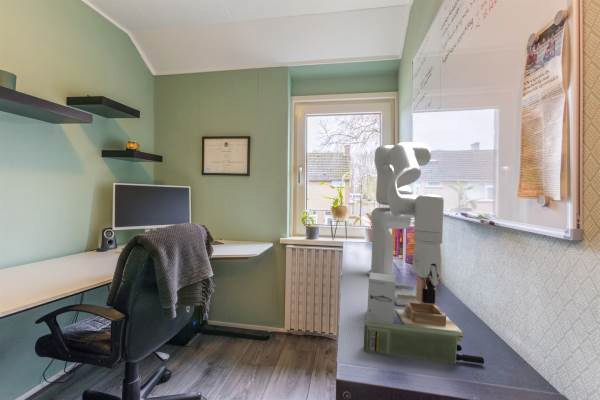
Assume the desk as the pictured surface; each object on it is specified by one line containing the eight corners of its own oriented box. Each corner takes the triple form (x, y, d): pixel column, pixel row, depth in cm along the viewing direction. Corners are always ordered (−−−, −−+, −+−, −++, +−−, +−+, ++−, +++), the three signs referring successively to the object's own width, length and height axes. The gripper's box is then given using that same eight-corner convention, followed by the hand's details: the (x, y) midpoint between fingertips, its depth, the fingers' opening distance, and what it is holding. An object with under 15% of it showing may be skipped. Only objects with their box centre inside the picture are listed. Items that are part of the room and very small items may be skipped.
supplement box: (366, 322, 74) (367, 278, 74) (368, 312, 81) (370, 271, 81) (393, 327, 71) (395, 281, 71) (394, 316, 78) (395, 274, 78)
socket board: (395, 311, 82) (396, 300, 82) (443, 316, 80) (443, 304, 80) (406, 331, 70) (407, 317, 70) (462, 336, 68) (463, 322, 68)
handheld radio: (363, 346, 62) (479, 361, 58) (364, 354, 59) (486, 371, 55) (364, 318, 62) (480, 331, 58) (365, 325, 59) (488, 340, 54)
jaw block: (416, 298, 79) (417, 275, 79) (430, 299, 78) (431, 276, 78) (420, 303, 75) (421, 279, 75) (435, 305, 74) (436, 280, 74)
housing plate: (391, 296, 95) (391, 283, 95) (411, 297, 94) (412, 285, 94) (396, 305, 87) (397, 291, 87) (419, 306, 86) (419, 293, 86)
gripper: (406, 233, 85) (404, 289, 85) (424, 240, 69) (421, 310, 69) (430, 234, 84) (428, 291, 84) (454, 242, 68) (452, 313, 68)
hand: (425, 299), depth 76 cm, fingers closed on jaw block, 4 cm apart
